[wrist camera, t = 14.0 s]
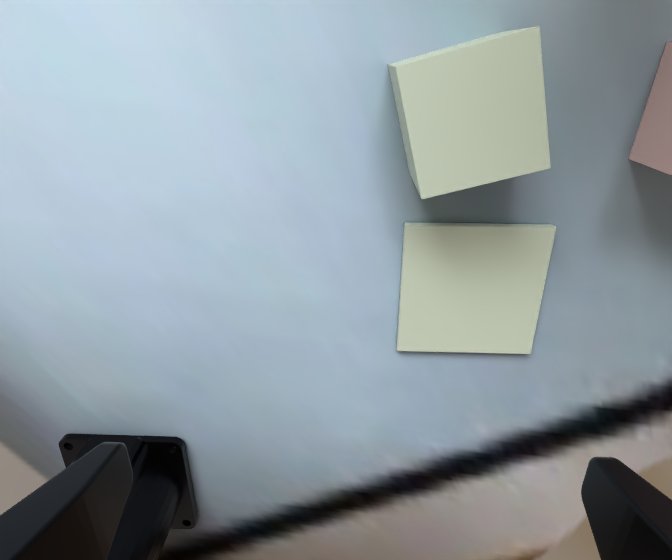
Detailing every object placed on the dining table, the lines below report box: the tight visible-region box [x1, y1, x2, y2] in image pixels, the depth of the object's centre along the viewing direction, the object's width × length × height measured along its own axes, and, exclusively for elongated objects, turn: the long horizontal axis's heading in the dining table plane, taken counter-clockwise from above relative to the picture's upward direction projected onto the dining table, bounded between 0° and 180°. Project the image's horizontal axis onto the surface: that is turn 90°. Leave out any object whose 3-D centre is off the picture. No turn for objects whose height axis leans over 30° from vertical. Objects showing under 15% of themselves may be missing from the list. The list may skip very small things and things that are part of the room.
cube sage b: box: [388, 26, 550, 199], centre depth 16 cm, size 4×4×4 cm
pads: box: [396, 223, 556, 354], centre depth 20 cm, size 6×19×1 cm, turn 90°
